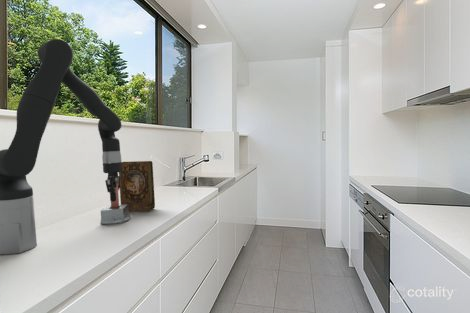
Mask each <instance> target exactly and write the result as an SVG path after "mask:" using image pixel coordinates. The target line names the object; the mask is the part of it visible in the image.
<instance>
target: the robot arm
mask: <svg viewBox="0 0 470 313" xmlns="http://www.w3.org/2000/svg"><path fill="white" fill-rule="evenodd" d="M37 57H38V59H39V61H40V62H41V64H40V67H39V69H38V71H37V73H36V74H35V75H34V76H33V78H32V79H31V80H30V82H29V83H28V84H27V86H26V88H25V89H24V91H23V93H22V95H21V98H20V100H19V102H18V105H17V108H16V129H15V134H14V136H13V139H12V141H11V143H10V145H9V147H8V148H6V149H1V150H0V254H4V255H14V254H21V253H23V252H26V251H29V250H31V249H33V248H35V247H37V246H38V243H37V231H36V230H37V229H36V219H35V218H36V217H35V207H34V206H35V205H34V203H35V201H34V191H33V190H34V189H33V187H32V186H31V185H30V184H29V182H28V181H27V180H28V179H27V175H29V174H30V173H31V172H32V171H33V170H34V168H35V166H36V162H37V158H38V155H39V149H40V145H41V141H42V138H43V135H44V133H45V131H46V128H47V126H48V123H49V120H50V118H51V115H52V114H53V109H54V107H55V105H56V100H57V98H58V96H59V93H60V89H61V85H62V84H63V85H64V86H66V88H68V89H69V90H70V91H71V92H72V94H73V95H74V96H75V97H76V99H78V100H79V102H80V103H81V104H82V105H83V107H84V108H85V109H86V110H87V111H88V113H89V114H90V115H91V116H94V117H96V118H98V119H99V120H98V122H97V130H98V134H99V137H100V140H101V143H102V144H101V146H102V147H101V148H102V149H101V150H102V156H101V157H102V158H101V159H102V172H103V173H104V174H107V178H106V179H105V186H106V190H107V193H109V198H110V203H111V202H112V201H116V187H117V178H118V177H119V181H118V192H120V176H119V172H121V171H122V162H123V161H122V153H121V144H120V139H119V138H118V137H116V135H115V132H119V131H120V130H121V129H122V121H121V119H120V117H119V116H118V114H116V113H115V112H114V110H112V109H111V108H110V107H108V106H107V105H106V103H105V102H104V101H103V99H102V98H101V97H100V95H98V93H97V92H96V91H95V90H94V89H93V88H92V87H91V86H90V85H88V84H87V83H86V82H85V81H83V80H82V79H81V78H80V77H79V76H77V75H76V74H75V73H74V72H73V70H72V69H71V64H72V62H73V60H74V51H73V49H72V47H71V45H70V44H69V43H68V42H67V41H65V40H63V39H60V38H54V39H50V40H48V41H46V42H45V43H43V44H42V45H41V46H39V48H37ZM113 185H114V186H113ZM111 188H112V189H111ZM118 197H119V198H120V195H118Z"/></svg>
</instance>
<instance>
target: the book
mask: <svg viewBox="0 0 470 313" xmlns="http://www.w3.org/2000/svg"><path fill="white" fill-rule="evenodd" d="M121 162H122V171H121V172H118V176H120V189H119V199H120V200H119V202H120V205H124V204H128V210H129V213H138V212H139V213H143V212H144V213H145V212H147V213H148V212H150V211H151V210H154V209H155V207H156V202H155V201H156V200H155V184H154V168H153V166H154V164H153V161H151V160H144V161H143V160H141V161H140V160H138V161H135V160H134V161H121Z"/></svg>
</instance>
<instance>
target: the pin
mask: <svg viewBox="0 0 470 313" xmlns="http://www.w3.org/2000/svg"><path fill="white" fill-rule="evenodd" d="M118 181H119V177H118V178H117V187H116V201H112V202H111V201H110V205H111V209H113V208H119V205H120V200H119V199H120V196H119V191H118ZM113 186H114V185H113ZM111 189H112V188H111ZM118 196H119V197H118Z"/></svg>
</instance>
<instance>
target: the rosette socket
mask: <svg viewBox="0 0 470 313" xmlns="http://www.w3.org/2000/svg"><path fill="white" fill-rule="evenodd" d="M130 220H131V215H130V212H129V210H128V204H124V205H121V204H119V208H113V209H111V204H108V205H106V206H105V207H103V208H102V209H101V210H100V224H101V225H107V226H109V225H110V226H111V225H119V224H123V223H126V222H128V221H130Z"/></svg>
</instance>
